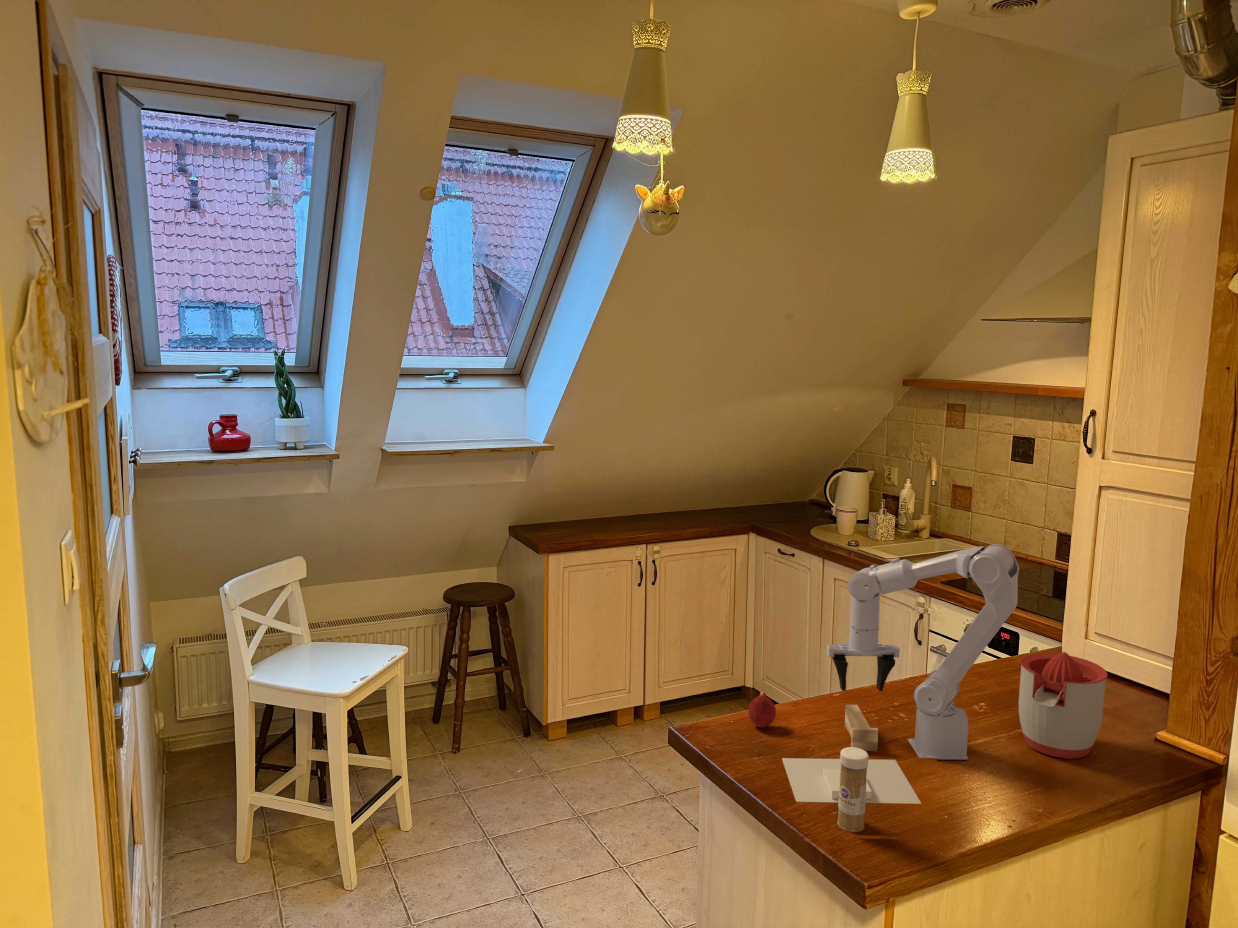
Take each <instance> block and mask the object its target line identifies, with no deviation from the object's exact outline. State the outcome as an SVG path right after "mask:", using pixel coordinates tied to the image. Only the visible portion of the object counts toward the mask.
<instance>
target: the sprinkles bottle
mask: <svg viewBox="0 0 1238 928" xmlns="http://www.w3.org/2000/svg"><path fill="white" fill-rule="evenodd" d="M839 754H840V756H839V759H840V763H841V772H840V789H839V802H838V803H837V804H838V805H837V806H838V813H837V822H836V823H837V826H838V827H839V828H840V829H842V830H844V831H846V832H850V833H857V832H861V831H863V830H864V829H865V826H866V825H865V812H866V803H865V802H866V777H867V776H866V775H867V767H868V759H869V754H868V751H864V750H862V749H859V748H855V747H851V746H849V747H844V748H843V749H841V750H840V753H839Z"/></svg>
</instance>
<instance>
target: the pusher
mask: <svg viewBox="0 0 1238 928" xmlns="http://www.w3.org/2000/svg"><path fill="white" fill-rule="evenodd" d="M844 713H845V715H844V728H846V730H847V732H848V734H849V736H850V737H851V738H850V739H851V740H850V747H855V748H859V749H862V750H864V751H866V752H878V743H879V742H878V741H879V729H878V728H877V727H871V725H869V723H868V720H866V718H865V716H864V714H863V713H862V711H861V709H860V707H859V705H858V704H845V711H844Z"/></svg>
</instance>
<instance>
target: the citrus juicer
mask: <svg viewBox="0 0 1238 928" xmlns="http://www.w3.org/2000/svg"><path fill="white" fill-rule="evenodd" d="M1019 662H1020V667H1021V668H1020V681H1019V693H1018V695H1019V696H1018V716H1019V717H1018V718H1019V722H1020V727H1021V732H1022V735H1023V737H1024V742H1026V744H1027V745H1028V746H1029V747H1030V748H1031V749H1034V750H1036V751H1037V752H1039V753H1042V754H1044V755H1047V756H1050V757H1055V758H1060V759H1061V758H1062V759H1065V760H1073V759H1079V758H1083V757H1086V756H1087V755H1088V754H1089V753H1090V751H1092V748H1093V747H1094V745H1095V741H1096V740H1097V737H1098V736H1099V733H1100V729H1101V725H1102V720H1103V712H1104V701H1105V700H1104V699H1105V691H1106V690H1105V689H1106V681H1107V680H1106V679H1107V678H1108V676H1109V675H1108V672H1107V671H1106V669H1105V668H1104V667H1103V666H1101V665H1099V664H1097V663H1095V662H1093V661H1090V660H1089V659H1088V660H1087V659H1085V658H1081V657H1077V656H1073V655H1069V653H1067V652H1065V651H1062V652H1060V653H1051V652H1049V653H1048V652H1036V653H1031V654H1025V655H1024V656H1022V657H1021V658H1020V661H1019Z"/></svg>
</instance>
